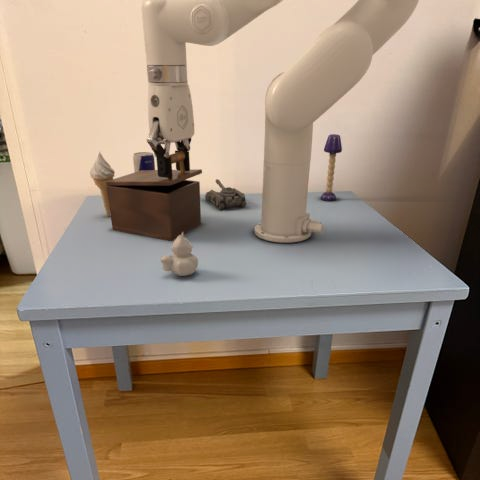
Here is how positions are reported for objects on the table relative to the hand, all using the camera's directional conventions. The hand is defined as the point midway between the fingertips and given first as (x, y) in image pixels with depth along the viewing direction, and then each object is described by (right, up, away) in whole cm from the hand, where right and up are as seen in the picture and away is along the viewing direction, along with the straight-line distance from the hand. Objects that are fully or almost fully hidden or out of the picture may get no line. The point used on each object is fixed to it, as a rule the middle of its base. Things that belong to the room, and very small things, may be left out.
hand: (174, 172), depth 95 cm
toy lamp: (+38, +2, +30) cm, 49 cm away
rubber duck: (+3, -23, -14) cm, 27 cm away
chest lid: (-5, 0, +3) cm, 5 cm away
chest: (-5, -10, +8) cm, 14 cm away
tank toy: (+10, 0, +25) cm, 27 cm away
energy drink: (-11, +1, +27) cm, 29 cm away
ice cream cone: (-18, -6, +15) cm, 24 cm away
